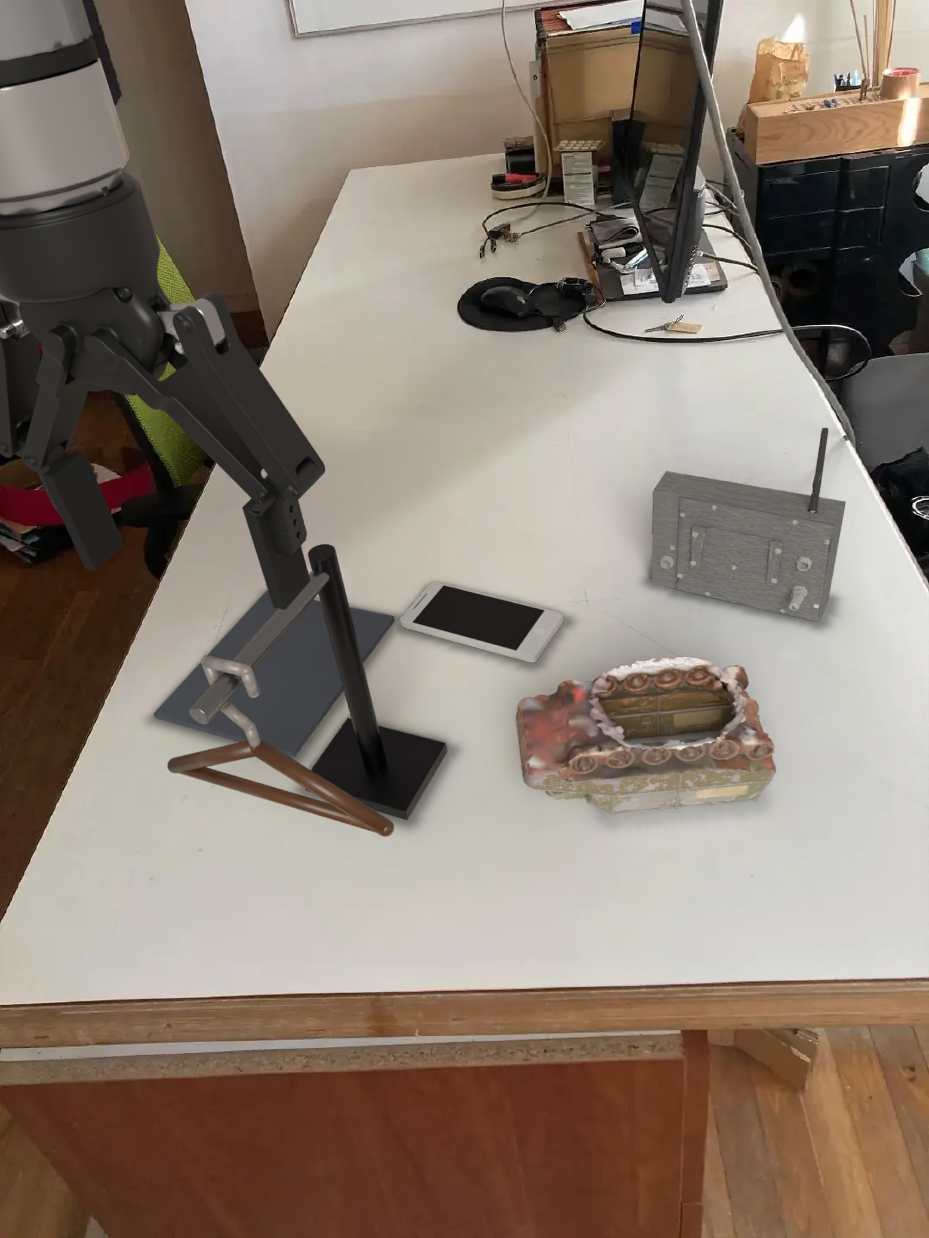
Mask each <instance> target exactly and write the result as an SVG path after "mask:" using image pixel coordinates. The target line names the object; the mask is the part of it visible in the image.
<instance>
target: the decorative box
mask: <svg viewBox="0 0 929 1238" xmlns="http://www.w3.org/2000/svg"><path fill="white" fill-rule="evenodd" d="M656 660H657V658H650V659H648V660H646V661H645V660H640V661H639V660H636V661H635V662H634V663H631V665H630V666H629V664H625V665H620V666H619V667H614V668H613V669H611V670H610V669H609V670H608V671H607V672H606V673H605V672H602V673H601V676H598V677H595V678H594V679H593V680H591V681H590V680H587V681H582V680H576V679H568V680H563V681H562V682H561V683H559V684H558V685H557V689H556V691H555V692H553V693H550V694H538V695H535V696H528V697H524V698H522V699H521V700H519V701H518V703H517V712H516V714H515V723H516V724H515V725H516V732H517V740H518V749H519V757H520V764H521V765H520V767H521V776H522V781H523V783H524V784H525V785H526V786H527V787H528V788H529V789H532V790H534V791H535V790H538V791H543V792H545V794H546V795H547V796H548V797H550V798H553V800H559V801H560V800H565V801H566V800H573V799H582V798H585V800H586V802H588V803H589V804H590V805H592V806H593V807H598V808H601V809H603V810H605V811H607V812H608V813H609V814H611V815H615V814H626V813H636V812H645V811H654V810H662V809H663V810H665V809H678V808H687V807H698V806H711V805H724V804H733V803H744V802H757V801H758V800H759V798H760V796H761V795H762V793H763V792H764V791H765V789H766V788H767V787H768V785H770V783H771V782H772V781H773V778H774V777H775V775H776V773H777V768H776V764H775V762H774V758H773V754H774V753H775V746H774V745H775V743H773V739H772V738H771V737H769V733H767V732H765V731H764V729H763V726H762V723H761V720H760V715H759V709H760V706H759V703H758V702H757V700H755V699H752V698H750V695H749V694H748V692H747V690H746V689H747V688H748V687H749V684H750V681H749V676H748V674H747V672H746V669H745V667H744V666H742V665H741V664H735V665H734V664H733V665H727V666H725V667H723V668H722V669H721V668H720V667H718V666H715V664H714V663H713V662H712V661H710V660H706V659H702V658H698V657H689V656H683V657H682V656H681V657H680V656H677V657H674V658H673V659H672V658H670V657H666V658H665V657H662V658H661V659H660V660H659V661H656Z"/></svg>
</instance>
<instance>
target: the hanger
mask: <svg viewBox="0 0 929 1238" xmlns="http://www.w3.org/2000/svg"><path fill="white" fill-rule="evenodd" d="M200 663H201V664H202V667H203V669H204V672H205V674H206V677H207V679H208V682H209V684H210V686H211V684H212V683H213V682H214V681H215V680H216V679H217V678H218V677H219V672H218V671H222V672H226V673H230V674H234V675H238V676H241V677H242V680H243V683H244V686H245V688H246V691H247V694H248V695H249V696H250V697H251V698H255V697H257V696H258V695H259V694H260V689H259V686H258V683H257V680H256V678H255V675H254V672H253V669H252V667H251V666H250V665H247V664H243V663H239V662H235V661H231V660H226V659H222V658H218V657H214V656H209V655H208V654H207V655H204V656H202V657H201V659H200ZM220 710H221V711H222V712H223V713H224V714H225V715H226V716H228V717H229V718H230V719H231V720H232V721H234V722H235V723H236V724H237V725H238V726H240V727H241V728H242V729H243V730H244V731H245V734H246V736H247V739H248V740H247V741H243V742H238V741H237V742H233V743H230V744H226V745H222V746H218V747H213V748H208V749H205V750H200V751H195V752H192V753H191V752H190V753H188V754H183V755H179V756H174V757H172V758H170V759H169V760H168V762H167V765H166V767H167V770H168V771H169V772H170V773H172V774H179V775H183V776H186V777H189V778H191V779H192V778H193V779H195V780H199V781H203V782H206V783H209V784H213V785H216V786H220V787H223V788H226V789H229V790H233V791H236V792H239V793H242V794H246V795H249V796H253V797H256V798H259V799H262V800H266V801H269V802H272V803H276V804H279V805H281V806H282V805H283V806H286V807H289V808H293V809H296V810H299V811H301V812H306V813H309V814H313V815H316V816H319V817H322V818H326V819H328V820H333V821H336V822H339V823H342V824H345V825H349V826H351V827H355V828H359V829H362V830H365V831H367V832H368V831H369V832H373V833H376V834H378V835H379V836H381V837H383V838H388V837H390V836H391V835H392V834H393V833H394V831H395V824H394V823H393V821H392V820H391V819H389V818H388V817H386V816H385V815H383V814H382V813H381V812H378V811H375V810H373V809H372V808H370V807H369V806H367V805H365V804H364V803H362V802H361V801H359V800H357V799H356V798H354V797H353V796H351V795H350V794H348V793H346V792H345V791H343V790H342V789H340V788H338V787H337V786H335V785H334V784H332V783H330V782H329V781H327V780H326V779H324V778H322V777H321V776H319V775H318V774H316V773H314V772H313V771H311V769H310V768H308V767H306V766H305V765H303V764H302V763H300V762H298V761H297V760H295V759H294V758H293V757H292V756H288V755H286V754H284V753H283V752H281V751H279V750H278V749H276V748H275V747H273V746H271V745H270V744H268V743H267V742H265V741H263V740H262V739H260V736H259V734H258V731H257V728H256V725H255V723H254V722H253V721H252V720H250V719H249V718H248V717H247V716H246V715H244V714H243V713H242V712H241V711H240V710H239V709H237V708H236V707H235V706H234V705H233V704H231V703H230V701H229V699H228V700H227V701H226V703H225V704H224V705H223V706H222V707H221V709H220ZM250 758H257V759H258V760H260V761H261V762H263V763H265V764H266V765H267V766H269V767H271V768H273V769H274V770H275V771H277V772H279V773H280V774H282V775H283V776H285V777H287V778H288V779H290V780H292V781H293V782H295V783H296V784H298V785H300V786H301V787H303V788H304V789H305V788H306V789H307V790H309V791H308V792H310V791H311V792H310V793H312V794H314V795H315V796H317V797H319V798H320V799H321V800H319V799H316V798H313V797H310V796H306V795H303V794H299V793H296V792H293V791H288V790H285V789H282V788H279V787H276V786H272V785H268V784H266V783H261V782H258V781H256V780H251V779H248V778H245V777H242V776H237V775H234V774H231V773H227V772H225V771H220V770H217V769H215V768H210V767H213V766H217V765H222V764H227V763H231V762H232V763H233V762H237V761H240V760H241V761H242V760H246V759H250ZM307 790H306V791H307Z"/></svg>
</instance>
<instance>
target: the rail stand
mask: <svg viewBox="0 0 929 1238" xmlns="http://www.w3.org/2000/svg"><path fill="white" fill-rule="evenodd" d="M307 558H308V562H309V565H310V569H311V571H310V572H309V576H310V580H311V581H310V582H309V583H308V584H307V586H306V587H305V588H304V589H303V590H302V591H301V592H300V594H299V595H298V596H297V597H296V598H295V599H294V600H293V602H292V603H291V604H290V605H289V606H288V607H287V609H286V610H282V609H278V610H277V611H276V612H275V613H274V614H273V615H272V617H271V618H270V619H269V620H268V621H267V622H266V623H265V625H264V626H263V627H262V628H261V629H260V630H259V631H258V632H257V634H256V635H255V636H254V637H253V638H252V639H251V640H250V641H249V643H248V644H247V645H246V646H245V647H244V648H243V649H242V651H241V652H240V653H239V654H238V655H237V656H236V657H235V658H234V660H233V661H235V662H239V663H243V664H247V665H250V666H251V667H252V669H253V670H254V669H255V667H256V666H257V665H258V664H259V663H260V662H261V660H262V659H263V658H264V657H265V656H266V655H267V653H268V652H269V651H270V650H271V649H272V648H273V646H274V645H275V644H276V643H277V642H278V640H279V639H280V638H281V637H282V636H283V635H284V633H285V632H286V631H287V630H288V629H289V628H290V626H291V625H292V624H293V623H294V622H295V621H296V619H297V618H298V617H299V616H300V615H301V613H302V612H303V611H304V610H305V609H306V608H307V606H308V605H309V604H310V603H311V602H312V601H313V600H315V598H316V597H317V596H318V599H319V601H320V603H321V607H322V610H323V614H324V618H325V622H326V625H327V629H328V633H329V637H330V640H331V644H332V648H333V652H334V656H335V659H336V663H337V667H338V671H339V674H340V678H341V682H342V686H343V689H344V690H343V692H344V697H345V700H346V704H347V708H348V711H349V716H350V717H347V718H346V719H345V721H344V722H343V724H342V725H341V727H340V728H338V731H337V732H336V734H335V735H334V737H333V738H332V739H331V741H330V742H329V744H328V745H327V746H326V748H325V749H324V750H323V752H322V753H321V755H320V756H319V758H318V759H317V761H316V762H315V763H314V765H313V766H312V767H311V769H310V770H311V771H313V772H314V773H316V774H318V775H319V776H321V777H322V778H324V779H326V780H327V781H329V782H330V783H332V784H334V785H335V786H337V787H338V788H340V789H342V790H343V791H345V792H346V793H348V794H350V795H351V796H353V797H354V798H356V799H357V800H359V801H361V802H362V803H364V804H365V805H367V806H369V807H370V808H372V809H373V810H375V811H377V812H378V813H380V814H384V815H388V816H392V817H395V818H398V819H401V820H404V821H405V820H406V821H408V820H409V818H410V816H412V813H413V811H414V810H415V808H416V806H417V805H418V803H419V801H420V799H421V798H422V796H423V794H424V793H425V791H426V789H427V787H428V786H429V784H430V782H431V781H432V779H433V777H434V775H435V773H436V772H437V770H438V769H439V767H440V765H441V763H442V762H443V760H444V758H445V757H446V755H447V753H448V748H447V743H446V742H444V741H440V740H437V739H433V738H428V737H425V736H420V735H417V734H413V733H409V732H405V731H401V730H397V729H393V728H390V727H386V726H381V725H379V723H378V719H377V716H376V711H375V709H374V708H375V707H374V703H373V699H372V694H371V690H370V687H369V682H368V678H367V673H366V670H365V665H364V663H363V661H362V657H361V653H360V649H359V645H358V641H357V636H356V632H355V628H354V624H353V620H352V616H351V612H350V608H349V607H350V604H349V599H348V595H347V592H346V591H347V590H346V587H345V583H344V579H343V575H342V571H341V570H342V569H341V567H340V566H341V565H340V563H339V559H338V554H337V550H336V547H335V546H333V544H330V543H320V544H317V545H315V546H312V547H311V548H310V549H309V550H308V552H307ZM242 683H243V680H242V677H241V676H238V675H234V674H230V673H226V672H222V673H221V674H220V675H219V677H218V678H217V679H216V680H215V681H214V682H213V683H212V684H211V686H210V687H209V688H208V689H207V690H206V691H205V692H204V693H203V695H202V696H201V697H200V698H199V699H198V700H197V701H196V703H195V704H194V705H193V706H192V707H191V708H190V710H189V713H190V715H191V717H192V718H193V719H194V720H195V721H197V722H198V723H201V724H208V723H209V721H210V720H211V719H212V718H213V717H214V716H215V714H216V713H217V712H218V711H219V710H220V709H221V707H222V706H223V705H224V704H225V703H226V701H227V700H228V699H229V698H230V697H231V696H232V694H233V693H234V692H235V691H236V690H237V689H238V687H239V686H240V685H241V684H242ZM304 790H305V791H307V792H310V793H312V792H311V791H309V790H307V789H306V788H304Z"/></svg>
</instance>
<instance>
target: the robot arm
mask: <svg viewBox="0 0 929 1238" xmlns="http://www.w3.org/2000/svg"><path fill="white" fill-rule="evenodd" d="M127 144H128V143H127V141H126V139H125V134H124V131H123V128H122V126H121V121H120V118H119V116H118V113H117V109H116V107H115V103H114V100H113V96H112V93H111V90H110V87H109V83H108V80H107V77H106V73H105V70H104V67H103V64H102V61H101V58H100V55H99V52H98V49H97V46H96V42H95V39H94V38H93V32H92V29H91V26H90V22H89V19H88V16H87V12H86V9H85V5H84V1H83V0H0V455H1V456H3V457H5V458H11V457H13V456H14V455H16V456H18V457H20V458H22V460H23V462H24V464H25V466H27V467H28V468H29V469H30V470H31V471H34V472H36V473H37V475H38V477H39V479H40V481H41V484H42V485H43V487H44V490H45V492H46V494H47V497H49V500H50V503H51V504H52V507H53V508H54V509H55V511H56V512H57V514H58V515H60V517H61V519H62V521H63V524H64V527H65V528H66V530H67V532H68V534H69V536H70V539H71V541H72V543H73V545H74V548H75V549H76V551H77V554H78V556H79V558H80V560H81V562H82V564H83V567H84V569H85V570H91V571H96V570H97V569H98V568H100V567H101V566H102V565H103V564H104V563H106V561H108V560H109V559H110V558H111V557H112V556H113V555H114V554H116V553H117V552H118V551H120V549H121V548H123V547H124V546H125V543H124V541H123V539H122V537H121V536H122V535H121V534H120V532H119V530H118V528H117V524H116V522H115V520H114V518H113V515H112V513H111V510H110V508H109V505H108V503H107V501H106V499H105V497H104V493H103V491H102V489H101V486H100V485H99V482H98V479H97V477H96V475H95V473H94V470H93V468H92V466H91V463H90V460H89V458H88V456H87V453H86V452H85V451H78V450H74V451H72V452H71V453H70V454H69V455H68V454H67V451H68V450H70V449H71V448H73V447H75V446H76V445H77V444H78V443H79V442H80V441H79V440H78V439H77V440H75V439H76V437H75V433H76V431H77V427H78V424H79V422H80V421H79V420H80V418H81V415H82V411H83V408H84V406H85V403H86V398H87V396H88V394H89V393H88V392H97V393H99V392H102V391H107V390H110V391H112V392H115V393H118V394H119V395H124V396H131V397H135V396H137V397H138V398H139V399H140V400H141V401H142V402H143V403H144V404H145V405H146V406H147V407H149V408H150V409H152V410H157V411H163V412H164V413H166V414H167V415H168V417H170V419H172V421H173V422H174V423H175V424H176V425H178V426H179V427H180V429H181V430H183V431H184V432H185V434H187V435H188V437H190V439H192V441H194V442H195V444H197V445H198V446H199V448H200V449H202V451H204V453H205V454H206V455H208V457H210V459H212V461H213V462H215V464H216V465H217V466H219V468H220V469H222V471H223V472H224V473H225V474H227V475H228V477H229V478H231V480H233V482H234V483H236V485H237V486H239V488H241V489H242V490H243V491H244V493H245V494H247V496H248V497H249V498H250V499H249V500H248V501H247V502H246V503H245V504H243V506H242V507H241V509H242V512H243V515H244V518H245V522H246V525H247V528H248V531H249V533H250V537H251V541H252V544H253V547H254V551H255V553H256V556H257V559H258V563H259V566H260V569H261V572H262V576H263V579H264V582H265V585H266V589H267V590H268V591H269V595H270V598H271V601H272V604H273V607H274V608H277V609H282V610H286V609H287V607H288V606H289V605H290V604H291V603H292V602H293V600H294V599H295V598H296V597H297V596H298V595H299V594H300V592H301V591H302V590H303V589H304V588H305V587H306V586H307V584H308V583H309V582H310V581H311V580H310V576H309V574H310V572H309V570H308V566H307V562H306V559H305V555H304V552H303V547H302V545H304V543H305V542H306V541H307V537H308V531H307V528H306V525H305V519H304V517H303V512H302V509H301V506H300V505H301V504H300V501H299V500H300V499H301V498H302V497H303V496H304V495H305V494H306V493H307V492H308V491H309V490H310V489H311V488H312V487H313V486H314V485H315V484H316V483H317V482H318V481H319V479H320V478H322V476H324V474H325V473H326V465H325V463H324V461H323V460H322V458H321V457H320V455H319V453H317V451H316V450H315V448H314V446H313V445H312V444H311V443H310V441H309V439H308V438H307V436H306V435H305V433H304V432H303V431H302V429H301V427H300V426H299V424H298V423H297V421H296V420H295V418H294V417H293V416H292V414H291V413H290V411H289V410H288V408H287V407H286V406H285V404H284V403H283V401H282V399H281V398H280V397H279V395H278V394H277V393H276V391H275V389H274V388H273V387H272V385H271V383H270V382H269V381H268V379H267V377H266V376H265V374H264V373H263V371H262V370H261V369H260V367H259V366H258V365H257V363H256V362H255V360H254V358H252V355H250V353H249V351H248V350H247V349H246V346H244V344H243V343H242V341H241V340H240V337H239V335H238V332H237V330H236V326H235V324H234V321H233V318H232V316H231V314H230V311H229V308H228V305H227V303H226V301H225V300H224V298H223V297H222V296H221V295H220V294H219V293H217V292H216V291H215V292H214V291H209V292H207V293H205V294H204V295H202V296H201V297H199V298H198V299H196V300H194V301H192V302H191V301H190V302H181V303H180V302H179V303H172V301H171V300H170V299H169V297H168V296H167V294H166V293H165V292H164V290H163V287H162V285H161V284H160V282H159V278H158V277H159V276H158V269H159V262H160V256H161V245H160V242H159V239H158V236H157V233H156V229H155V227H154V223H153V220H152V217H151V213H150V211H149V208H148V204H147V201H146V198H145V195H144V192H143V187H142V185H141V183H140V181H139V180H137V179H135V178H134V176H133V175H131V174H130V173H129V172H124V171H122V170H123V169H124V167H125V166H126V164H127V163H128V161H129V160H130V158H131V154H130V151H129V148H128V145H127ZM40 349H41V350H42V355H41V358H40ZM168 364H169V365H171V367H173V369H175V371H174V372H173V373H171V374H170V375H169V376H167V377H165V378H164V379H162V380H161V378H162V377H163V375H165V372H166V370H167V366H168ZM74 440H75V441H74ZM263 470H264V472H265V473H266V476H263V475H262V471H263Z"/></svg>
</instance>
